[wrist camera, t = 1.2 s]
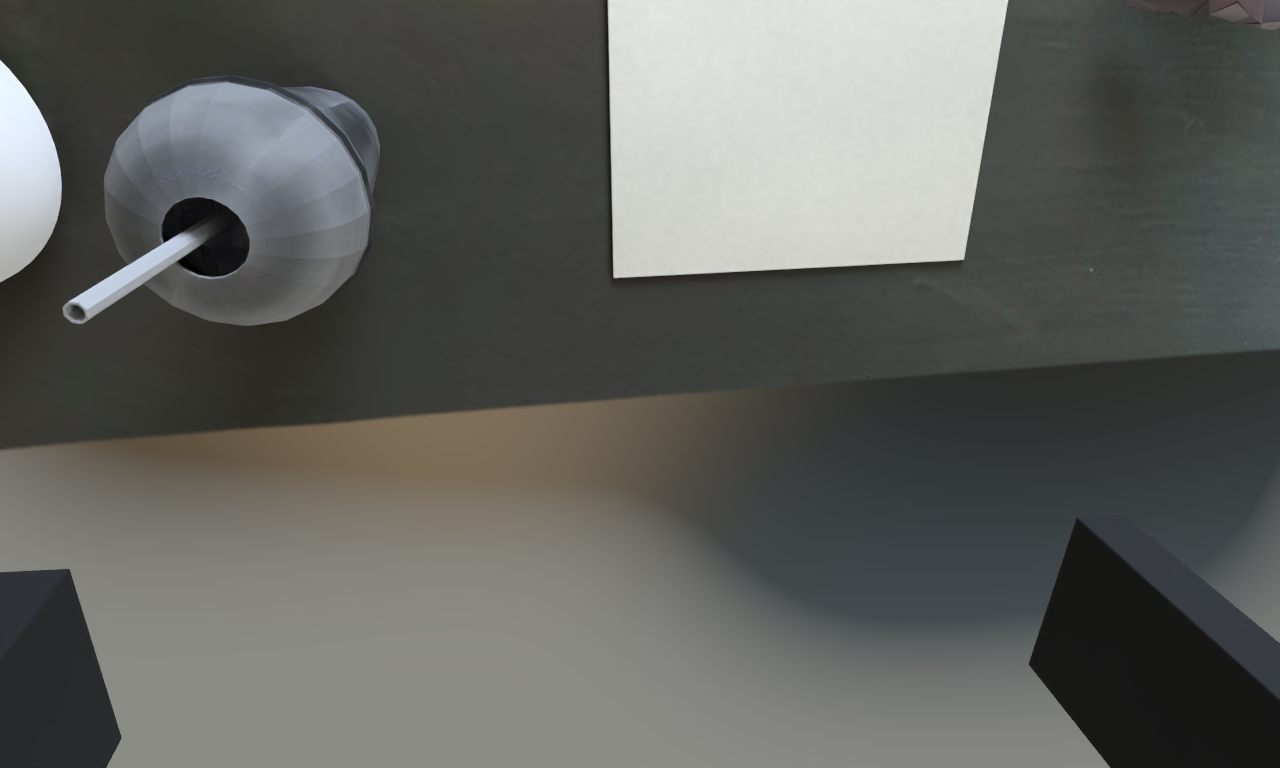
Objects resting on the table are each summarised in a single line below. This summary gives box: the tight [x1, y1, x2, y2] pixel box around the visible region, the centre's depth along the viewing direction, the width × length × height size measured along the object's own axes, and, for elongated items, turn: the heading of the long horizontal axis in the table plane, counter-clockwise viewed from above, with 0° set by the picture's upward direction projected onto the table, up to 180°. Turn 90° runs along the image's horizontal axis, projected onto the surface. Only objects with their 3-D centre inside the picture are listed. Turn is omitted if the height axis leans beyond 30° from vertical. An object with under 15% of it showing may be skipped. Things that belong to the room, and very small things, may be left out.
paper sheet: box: [607, 0, 1008, 278], centre depth 37 cm, size 18×13×1 cm
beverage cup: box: [63, 75, 380, 326], centre depth 26 cm, size 7×7×20 cm
